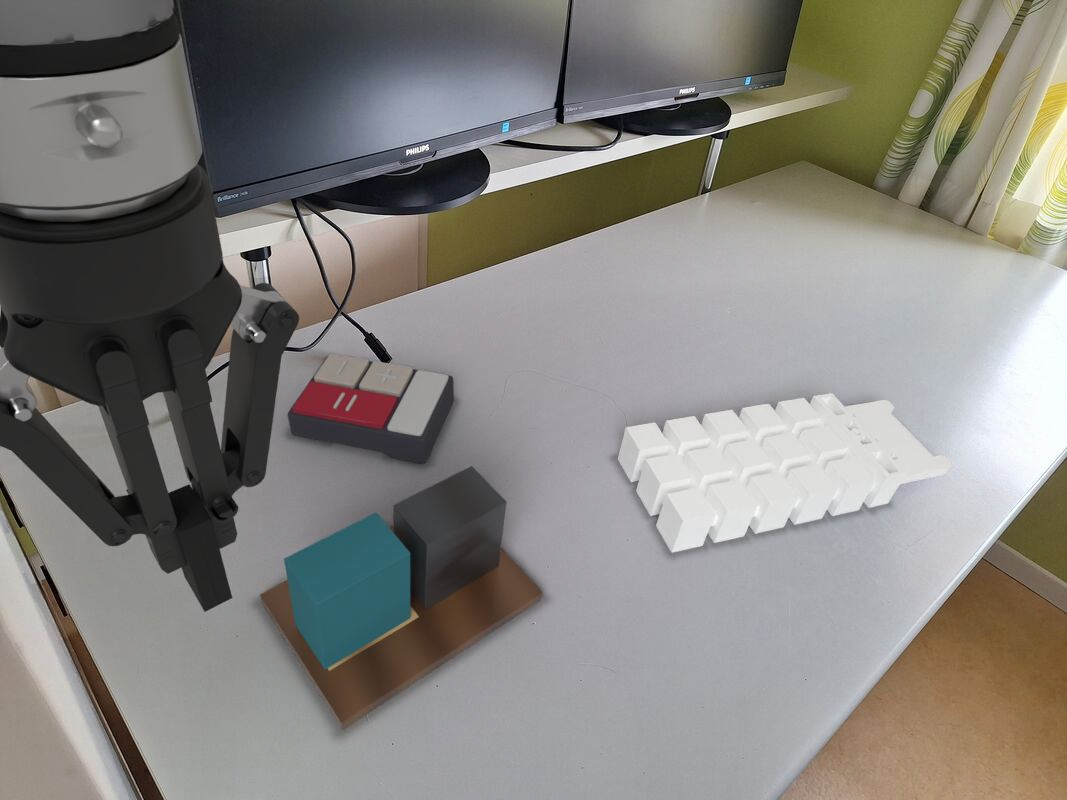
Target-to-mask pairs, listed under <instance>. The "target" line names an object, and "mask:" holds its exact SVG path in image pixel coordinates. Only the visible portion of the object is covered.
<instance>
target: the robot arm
mask: <svg viewBox="0 0 1067 800" xmlns="http://www.w3.org/2000/svg"><path fill="white" fill-rule="evenodd" d="M177 15H178V14H177V10H176V6H175V3H174V0H0V447H1V448H4V449H6V450H8V451H11V452H12V453H13V454H14V456H16V457H17V458H18V459H19V460H20V461H21V462H22V463H23V464H24V465H25V466H26V467H27V468H28V469H29V470H30V471H31V472H32V473H33V475H35V476H36V477H37V478H38V479H39V480H41V482H42V483H43V484H44V485H45V486H46V487H47V488H48V489H49V490H50V491H51V492H52V493H53V494H54V495H55V496H56V497H58V498H59V500H61V502H62V503H64V505H65V506H66V507H67V508H68V509H70V511H71V512H73V514H74V515H76V516H77V518H78V519H80V521H81V522H83V523H84V525H85V526H87V528H89V529H90V530H91V531H92V533H94V534H95V535H96V536H97V537H98V539H100V540H101V542H102V543H104V544H105V545H106V546H108V547H118V546H121V545H122V546H123V545H125V544H126V543H128V542H129V541H130V540H131V538H132V537H133V536H134V535H145V538H146V540H147V543H148V546H149V549H150V551H151V553H152V555H153V557H154V559H155V561H156V562H157V564H158V566H159V568H160V570H161V571H163V572H164V573H166V574H167V575H168V574H171V573H173V572H176V571H177V570H180V569H181V570H182V574H183V577H184V578H185V581H186V582H187V584H188V585H189V587H190V589H191V591H192V592H193V594H194V596H195V598H196V600H197V601H198V603H199V605H200V607H201V608H202V610H203V612H204V613H206V612H208V611H210V610H211V609H214V608H216V607H218V606H220V605H222V604H224V603H225V602H227V601H230V600H231V599H233V594H232V591H231V588H230V584H229V579H228V576H227V571H226V568H225V565H224V560H223V557H222V553H221V549H223V548H225V547H227V546H229V545H231V544H234V543H235V542H236V540H237V537H238V529H237V527H236V522H235V516H236V515H237V514H238V512H239V506H238V504H237V502H236V501H235V500H234V498H233V496H234V494H235V493H236V492H237V491H238V490H239V489H241V488H243V487H246V488H253V487H255V486H258V485H259V484H260V483H262V482H263V481H264V479H265V477H266V475H267V467H268V459H269V452H270V444H271V438H272V429H273V423H274V415H275V408H276V400H277V393H278V385H279V378H280V370H281V363H282V357H283V354H284V353H285V351H286V349H287V346H288V344H289V343H290V341H291V339H292V337H293V335H294V333H295V331H296V329H297V327H298V325H299V322H300V315H299V313H298V312H297V311H296V309H295V308H294V307H293V306H292V305H291V304H290V303H289V302H288V301H287V300H286V299H285V298H284V297H283V296H282V295H281V293H280V292H279V291H278V290H277V289H275V287H274V286H273V285H272V284H270V283H268V282H261V283H258V284H256V285H254V286H253V287H252V288H251V287H248V286H246V285H241V284H240V283H239V282H238V280H237V279H236V277H235V276H234V275H232V273H230V272H229V270H228V269H227V267H226V265H225V263H224V255H223V254H224V253H223V250H222V243H221V237H220V233H219V228H218V222H217V217H216V211H215V205H214V201H213V195H212V190H211V189H212V188H211V185H210V180H209V179H210V178H209V176H208V174H207V172H206V171H205V169H204V168H203V167H202V165H201V164H199V161H200V159H201V157H202V155H203V146H202V145H203V144H202V140H201V135H200V129H199V123H198V118H197V113H196V107H195V101H194V97H193V92H192V86H191V80H190V75H189V70H188V65H187V64H188V63H187V59H186V53H185V50H184V44H183V38H182V35H181V31H180V25H179V20H178V16H177ZM230 326H231V328H232V333H231V339H230V347H229V358H228V369H227V381H226V390H225V399H224V400H225V402H224V413H223V422H222V433H221V434H222V435H221V444H220V441H219V437H218V432H217V428H216V424H215V420H214V416H213V415H214V414H213V412H212V407H211V403H212V402H213V398H212V393H211V392H212V391H211V388H210V384H209V380H208V376H207V370H206V369H207V368H208V366H209V365H210V364H211V362H212V359H213V358H214V356H215V354H216V352H217V351H218V349H219V347H220V345H221V343H222V341H223V339H224V338H225V335H226V333H227V332H228V330H229V328H230ZM30 377H31V378H33V379H35V380H38V381H39V382H42V383H44V384H46V385H48V386H51V387H52V388H55V389H57V390H59V391H61V392H63V393H65V394H68V395H69V396H72V397H74V398H77V399H79V400H81V401H83V402H84V403H87V404H90V405H93V406H97V407H98V410H99V413H100V415H101V418H102V421H103V424H104V426H105V430H106V432H107V435H108V438H109V440H110V443H111V447H112V449H113V452H114V454H115V458H116V461H117V463H118V466H119V469H120V472H121V475H122V477H123V481H124V482H125V485H126V489H125V491H126V493H127V494H125V495H118V496H116V495H115V494H114V493H113V492H112V491H111V489H110V488H109V487H108V486H107V485H106V484H105V483H104V482H103V481H102V479H100V478H99V476H98V475H97V474H96V472H94V471H93V470H92V468H90V466H89V465H88V464H87V463H86V462H85V460H83V458H82V457H81V456H80V455H79V454H78V453H77V452H76V451H75V450H74V449H73V447H72V446H71V445H70V444H69V443H68V442H67V441H66V439H65V438H64V437H63V436H62V435H61V434H60V433H59V432H58V431H57V430H56V429H55V427H54V426H53V425H52V424H51V423H50V421H48V420H47V418H45V416H44V415H43V414H42V413H41V412H40V411H39V409H37V408H36V407H37V404H38V399H37V398H36V397H37V396H36V395H35V393H34V392H33V390H32V388H31V385H30V383H29V379H30ZM159 393H162V394H163V397H164V398H163V399H164V401H165V405H166V408H167V412H168V415H169V418H170V419H169V420H170V422H171V425H172V429H173V432H174V435H175V436H174V437H175V439H176V443H177V447H178V450H179V454H180V457H181V461H182V464H183V467H184V471H185V475H186V478H187V479H188V481H189V482H190V483H188V484H186V485H184V486H181V487H179V488H176V489H174V490H171V491H168V487H167V484H166V481H165V478H164V474H163V471H162V468H161V464H160V461H159V457H158V455H157V451H156V448H155V445H154V442H153V438H152V434H151V432H150V428H149V425H150V421H149V417H148V414H147V411H146V407H145V404H144V400H146V399H148V398H150V397H152V396H154V395H155V394H159ZM220 445H221V446H220Z"/></svg>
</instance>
